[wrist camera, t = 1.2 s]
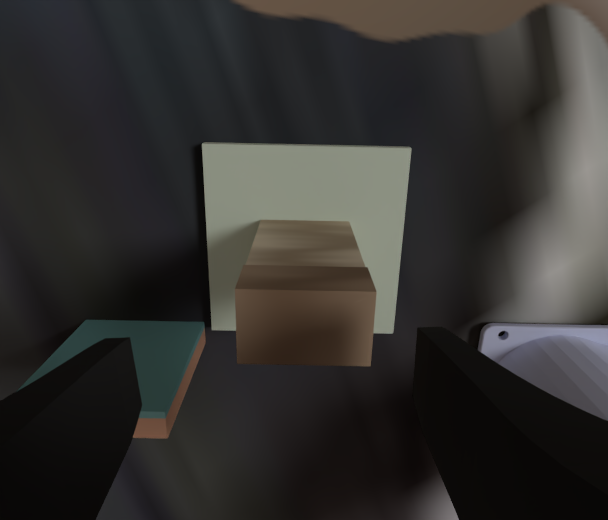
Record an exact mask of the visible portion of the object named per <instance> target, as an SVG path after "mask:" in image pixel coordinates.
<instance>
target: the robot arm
mask: <svg viewBox="0 0 608 520" xmlns="http://www.w3.org/2000/svg"><path fill="white" fill-rule="evenodd" d="M501 331H505V334H504V335H502V336H498V334H499V333H500V332H501ZM413 399H414V403H415V407H416V411H417V415H418V418H419V422H420V425H421V429H422V432H423V434H424V437H425V439H426V442H427V444H428V446H429V449H430V451H431V454H432V456H433V459H434V461H435V463H436V466H437V468H438V470H439V473H440V475H441V477H442V480H443V482H444V485H445V487H446V489H447V492H448V494H449V496H450V499H451V501H452V503H453V506H454V508H455V510H456V513H457V515H458V518H459V520H608V325H566V324H513V323H490V324H487V325H485V326H484V327H483V328H482V330H481V334H480V339H479V345H478V350H477V349H475V348H474V347H472V346H471V345H469V344H468V343H466V342H465V341H464V340H462V339H461V338H459V337H458V336H456V335H455V334H453V333H451V332H450V331H448V330H447V329H445V328H443V327H421V328H417V341H416V355H415V369H414V382H413ZM141 408H142V400H141V395H140V389H139V384H138V378H137V373H136V367H135V362H134V356H133V351H132V345H131V340H130V337H124V338H105V339H103V340H101V341H99V342H97V343H95V344H93V345H92V346H90V347H88V348H87V349H85V350H83V351H82V352H80V353H79V354H77V355H75V356H74V357H72V358H71V359H69V360H67V361H66V362H64V363H63V364H61V365H59V366H58V367H56V368H55V369H53V370H51V371H50V372H48V373H47V374H45V375H44V376H42V377H40V378H39V379H37V380H35V381H34V382H32V383H30V384H29V385H27V386H25V387H24V388H22V389H20V390H18V391H17V392H15V393H13V394H11V395H10V396H8V397H6V398H5V399H3V400H1V401H0V520H95V519H96V517H97V515H98V513H99V511H100V509H101V507H102V504H103V502H104V500H105V498H106V496H107V494H108V492H109V489H110V487H111V485H112V483H113V481H114V479H115V477H116V474H117V472H118V470H119V468H120V466H121V463H122V461H123V459H124V457H125V455H126V453H127V450H128V448H129V446H130V443H131V441H132V438H133V435H134V432H135V429H136V425H137V422H138V419H139V415H140V412H141Z"/></svg>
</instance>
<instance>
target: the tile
mask: <svg viewBox="0 0 608 520" xmlns="http://www.w3.org/2000/svg"><path fill="white" fill-rule="evenodd" d="M124 337H130V340H131V345H132V351H133V356H134V362H135V367H136V373H137V378H138V384H139V389H140V395H141V400H142V408H141V412H140V415H139V419H138V422H137V425H136V429H135V432H134V435H133V438H168V436H169V434H170V431H171V429H172V426H173V424H174V421H175V419H176V416H177V413H178V411H179V408H180V406H181V403H182V401H183V398H184V396H185V393H186V391H187V388H188V386H189V383H190V381H191V378H192V376H193V373H194V371H195V368H196V366H197V363H198V360H199V358H200V355H201V353H202V350H203V348H204V345H205V343H206V342H205V325H204V322H181V321H128V320H85V321H84V322H83V323H82V324H81V325H80V326H79V327H78V328H77V329H76V330H75V331H74V333H73V334H72V335H71V336H70V337H69V338H68V339H67V340H66V341H65V342H64V343H63V344H62V345H61V346H60V347H59V348H58V349H57V350H56V351H55V352H54V353H53V354H52V355H51V356H50V357H49V358H48V359H47V360H46V361H45V362H44V363H43V365H42V366H41V367H40V368H39V369H38V370H37V371H36V372H35V373H34V374H33V375H32V376H31V377H30V378H29V379H28V380H27V381H26V382H25V383H24V384H23V385H22V386H21V387H20V388H19V389H18V390H20V389H22V388H24V387H25V386H27V385H29V384H30V383H32V382H34V381H35V380H37V379H39V378H40V377H42V376H44V375H45V374H47V373H48V372H50V371H51V370H53V369H55V368H56V367H58V366H59V365H61V364H63V363H64V362H66V361H67V360H69V359H71V358H72V357H74V356H75V355H77V354H79V353H80V352H82V351H83V350H85V349H87V348H88V347H90V346H92V345H93V344H95V343H97V342H99V341H101V340H103V339H105V338H124ZM18 390H17V391H18ZM17 391H16V392H17Z"/></svg>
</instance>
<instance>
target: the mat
mask: <svg viewBox="0 0 608 520" xmlns="http://www.w3.org/2000/svg"><path fill="white" fill-rule="evenodd" d="M202 155H203V174H204V193H205V211H206V230H207V249H208V267H209V286H210V305H211V324H212V330H234V331H236V310H235V287H236V284H237V281H238V279H239V276H240V273H241V270H242V267H243V265H246V262H247V259H248V256H249V253H250V250H251V247H252V244H253V242H254V239H255V236H256V233H257V230H258V227H259V224H260V221H261V220H308V221H349V222H350V225H351V228H352V231H353V234H354V236H355V239H356V242H357V245H358V248H359V250H360V253H361V256H362V259H363V262H364V264H365V267H368V270H369V272H370V275H371V278H372V281H373V283H374V286H375V289H376V291H377V294H376V306H375V318H374V330H373V333H393V330H394V320H395V309H396V299H397V289H398V279H399V269H400V259H401V249H402V239H403V228H404V218H405V208H406V198H407V188H408V178H409V168H410V158H411V148H410V147H399V146H353V145H307V144H261V143H215V142H204V143H202Z"/></svg>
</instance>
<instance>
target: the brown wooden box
mask: <svg viewBox="0 0 608 520" xmlns="http://www.w3.org/2000/svg"><path fill="white" fill-rule="evenodd" d="M376 294H377V291H376V289H375V286H374V283H373V281H372V278H371V275H370V272H369V270H368V267H365V264H364V262H363V259H362V256H361V253H360V250H359V248H358V245H357V242H356V239H355V236H354V234H353V231H352V228H351V225H350V222H349V221H308V220H261V221H260V224H259V227H258V230H257V233H256V236H255V239H254V242H253V244H252V247H251V250H250V253H249V256H248V259H247V262H246V265H243V267H242V270H241V273H240V276H239V279H238V281H237V284H236V287H235V310H236V341H237V364H275V365H330V366H371V355H372V343H373V330H374V318H375V306H376Z"/></svg>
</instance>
